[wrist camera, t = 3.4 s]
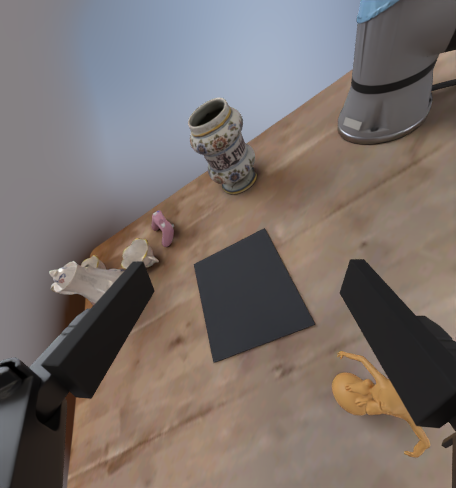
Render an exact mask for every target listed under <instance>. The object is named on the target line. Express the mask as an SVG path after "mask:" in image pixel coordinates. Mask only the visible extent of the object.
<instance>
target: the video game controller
mask: <svg viewBox="0 0 456 488" xmlns="http://www.w3.org/2000/svg"><path fill="white" fill-rule="evenodd" d="M159 228H160V229H161V230H162V232H163V238H162V245H163V246H164V247H168V246H169V245H170V244H171V242H172V240H173V233H174V230H173V228H174V225H173V224H172V225H171V224H170V222H169V221H167V220H166V219H165V217H164V215H163V214H162V212H161V211H160V210H159V211H157V212H155V213H154V214H153V215H152V229H153V230H154V231H157V230H158V229H159Z"/></svg>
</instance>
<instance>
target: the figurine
mask: <svg viewBox="0 0 456 488" xmlns="http://www.w3.org/2000/svg"><path fill="white" fill-rule="evenodd" d="M339 352H340V353H338V354H339V355H338V356H337V357H339V356H341V357H340V359H341V358H342V357H343V356H346V357H348V358H350V359H354V360H357V361H360V362H362V363H363V364H364V366H365V367H366V368H367V370H368V371H369V372H370V373H371V374H372V376H373V377H374V378H375V380H376V385H374V384H373V382H372V381H371V380H369V379H365V380H364V381H362V380H361V379H360V378H359V377H357V376H356V375H354V374H351V373H340V374H338V375H337V376H336V377H335V378H334V380H333V383H332V390H333V394H334V397H335V399H336V401H337V402H338V404H339V405H340V406H341V407H342V408H343V409H344V410H346V411H347V412H349V413H351V414H353V415H364V414H366V413H367V414H368V415H374V414H375V415H379V414H387V415H393V416H395V417H399V418H402V419H404V420H406V421H407V422H408V423H409V425H410V426H411V428H412V429H413V431H414V432H415V434H416V435H417V436H418V438H419V439H420V441H419V442H418V444H416V445H415V447H414V451H413V452H408V451H404V452H406V453H404V454H406V455H408V456H410V457H419V456H420V455H422V454H423V452H424V451H425V449H427V448H429V447H430V442H429V440H428V438H427V436H426V434H425V433H424V431H423V429H422V428H421V426H416V425H415V423H414V421H413V420H412V418H411V416H410V415H409V413H408V411H407V409H406V408H405V406H404V404H403V402H402V401H401V399H400V397H399V395H398V394H397V392H396V390H395V388H394V387H393V385H392V383H391V381H390V380H389V379H387V378H386V377H385V376H383V375H382V374H381V373H380V372H378V371H377V369H376V368H375V367H374V366H373V365H372V364H371V363H370V362H369V361H368V360H367V359H366V358H364V357H363V356H360V355H354V354H351V353H345V352H343V351H339ZM371 395H372V396H371ZM372 398H373V399H374V400H373V399H372Z"/></svg>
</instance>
